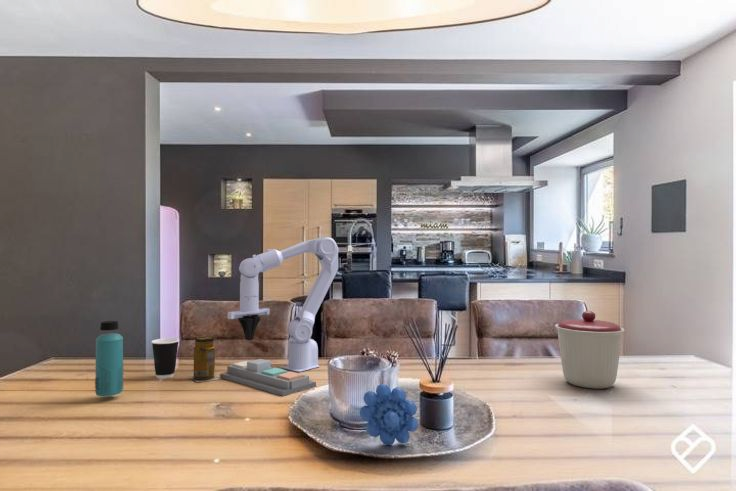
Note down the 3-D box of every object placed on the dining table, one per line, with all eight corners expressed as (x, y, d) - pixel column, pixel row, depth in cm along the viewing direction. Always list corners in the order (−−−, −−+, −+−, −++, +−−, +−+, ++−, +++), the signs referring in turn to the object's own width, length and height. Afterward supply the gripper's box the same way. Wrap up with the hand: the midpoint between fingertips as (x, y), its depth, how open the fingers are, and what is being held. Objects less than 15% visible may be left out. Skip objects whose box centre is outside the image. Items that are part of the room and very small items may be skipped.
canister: (609, 397, 121) (608, 316, 122) (543, 383, 135) (543, 310, 135) (635, 385, 133) (634, 311, 134) (572, 372, 147) (572, 306, 147)
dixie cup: (184, 373, 145) (184, 338, 145) (168, 380, 137) (169, 343, 137) (161, 372, 146) (161, 337, 147) (144, 379, 139) (145, 342, 139)
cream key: (246, 368, 146) (246, 360, 146) (256, 371, 143) (256, 363, 143) (233, 371, 142) (233, 363, 142) (242, 374, 139) (242, 366, 139)
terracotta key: (291, 380, 133) (291, 371, 133) (303, 383, 130) (303, 374, 130) (277, 383, 129) (277, 375, 129) (289, 387, 126) (289, 378, 126)
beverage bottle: (129, 396, 122) (129, 320, 122) (105, 404, 116) (106, 323, 116) (112, 393, 124) (113, 318, 125) (88, 400, 118) (89, 321, 119)
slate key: (260, 366, 142) (260, 358, 142) (271, 369, 139) (271, 361, 139) (246, 369, 138) (246, 361, 138) (257, 372, 135) (257, 364, 135)
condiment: (211, 373, 146) (212, 335, 146) (221, 379, 139) (221, 339, 139) (187, 377, 141) (188, 337, 142) (196, 383, 135) (196, 341, 135)
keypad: (252, 369, 150) (252, 360, 150) (315, 386, 132) (316, 374, 132) (220, 377, 141) (220, 366, 141) (283, 396, 122) (283, 384, 122)
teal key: (275, 375, 137) (275, 367, 137) (286, 378, 134) (286, 370, 134) (261, 379, 134) (261, 370, 134) (272, 382, 130) (272, 373, 130)
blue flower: (361, 456, 86) (361, 391, 86) (358, 441, 93) (358, 381, 93) (423, 453, 87) (423, 389, 88) (415, 439, 94) (415, 379, 94)
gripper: (260, 294, 155) (259, 335, 155) (222, 297, 144) (221, 341, 143) (273, 295, 150) (273, 337, 150) (235, 298, 139) (235, 344, 139)
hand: (249, 339), depth 147 cm, fingers closed
